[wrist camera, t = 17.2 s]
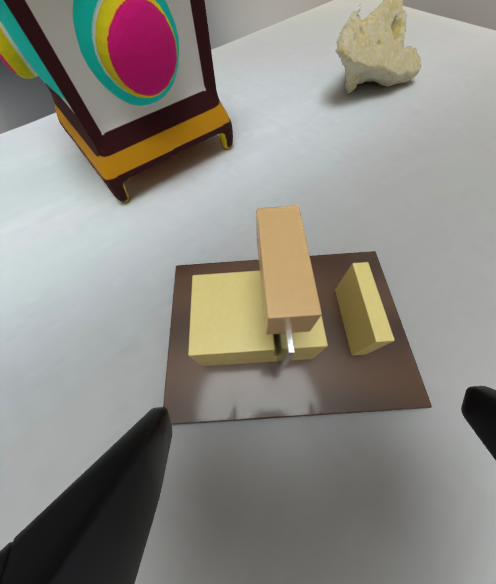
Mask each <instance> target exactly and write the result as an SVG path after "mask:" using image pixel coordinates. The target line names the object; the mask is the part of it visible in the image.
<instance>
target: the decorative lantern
mask: <svg viewBox="0 0 496 584" xmlns="http://www.w3.org/2000/svg"><path fill="white" fill-rule="evenodd" d="M0 58H1V60H2V61H3V62H4V63H5V65H7V67H9V68H10V69H11V70H12V71H13V72H14V73H16V74H17V75H19V76H21V77H23V78H34V77H36V76H39V77H40V78H41V79H42V80H43V81H44V82H45V84H46V85H47V87H48V89H49V90H50V92H51V94H52V97H53V100H54V104H55V109H56V113H57V116H58V119H59V122H60V124H61V125H62V126H63V128H64V129H65V131H66V132H67V133H68V135H69V136H70V137H71V138H72V139H73V141H74V142H75V143H76V145H77V146H78V147H79V149H80V150H81V151H82V153H83V154H84V155H85V157H86V158H87V159H88V161H89V162H90V163H91V165H92V166H93V167H94V169H95V170H96V171H97V173H98V174H99V175H100V176H101V178H102V179H103V181H104V182H105V183H106V185H107V186H108V188H109V189H110V190H111V192H112V193H113V194H114V196H115V197H116V198H117V199H118V200H120V201H121V202H127V201H128V200H129V196H128V193H127V191H126V189H125V185H124V182H125V181H126V180H127V179H128V178H130V177H132V176H134V175H136V174H138V173H140V172H142V171H144V170H146V169H148V168H150V167H152V166H154V165H156V164H158V163H160V162H162V161H164V160H166V159H168V158H170V157H172V156H174V155H176V154H178V153H180V152H182V151H184V150H186V149H188V148H190V147H192V146H194V145H196V144H198V143H200V142H202V141H204V140H206V139H208V138H210V137H212V136H214V135H217V134H219V137H220V141H221V144H222V146H223V147H224V148H226V149H229V148H230V147H231V146H232V142H233V131H232V124H231V121H230V118H229V116H228V114H227V112H226V111H225V109H224V107H223V106H222V104H221V102H220V100H219V98H218V95H217V91H216V84H215V77H214V69H213V62H212V54H211V47H210V40H209V32H208V24H207V16H206V9H205V2H204V0H0Z"/></svg>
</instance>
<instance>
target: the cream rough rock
mask: <svg viewBox="0 0 496 584" xmlns="http://www.w3.org/2000/svg"><path fill="white" fill-rule="evenodd" d="M361 6H362V5H361V4H360V5H359V10H358V11H354V12H353V13H352V14H351V16H350V18H349V20H348V21H347V22H346V24H345V26H344V27H343V29H342V31H341V32H340V36H339V38H338V39H337V49H336V52H337V54H338V55H339V57H340V58H341V62H342V64H343V65H344V67H345V77H346V83H345V86H346V89H347V93H350V92H352V91H353V90H354V89H355V88H356V86H357V84H362V83H364V82H365V81H366V82H371V81H375V82H377V83H379V84H380V85H384V86H386V87H389V86H392V85H395V84H399V83H405V82H408V81H409V80H411V79H413V78H414V77H415V76H416V75H417V74H418V72H419V70H420V68H421V58H420V56H419V55H418V53H417V49H416V48H412V47H409V46H408V47H406V48H404V36H405V31H406V12H405V11H404V10H403V0H384V1H383V2H382V3H381V4H380V5H379V6H378V7H377V8H376V9H375V10H374V11H373V12H371V13H370V14H369V15H368V16H367V17H366V18H365V19H364V20H363V21H361V18H360V16H359V15H358V12H359V11H360V8H361Z"/></svg>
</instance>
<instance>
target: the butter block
mask: <svg viewBox="0 0 496 584" xmlns="http://www.w3.org/2000/svg"><path fill="white" fill-rule="evenodd" d="M292 336H293V342H294V349H295V353H294V354H293V356H292V357H291V359H290V360H304V359H313V358H315V357H316V356H317V355H318V354H319V353H320V352H321V351H323V350H324V349H325V348H326V347H327V346H328V344H327V339H326V335H325V330H324V325H323V320H322V315H321V317H320V318H319V319H318V321H317V322H316V324H315V325H314V327H313V328H312V330H311V331H310V332H297V333H292ZM188 355H189V356H190V357H191V358H192V359H194V360H195V361H197V362H198V363H200V364H201V365H202V366H216V365H231V364H245V363H260V362H275V361H277V358H276V349H275V340H274V334H269V335H267V334H266V330H265V320H264V309H263V299H262V288H261V278H260V271H247V272H233V273H219V274H205V275H193V276H192V295H191V314H190V333H189V352H188ZM290 360H289V361H290Z"/></svg>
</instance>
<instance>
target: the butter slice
mask: <svg viewBox="0 0 496 584" xmlns="http://www.w3.org/2000/svg"><path fill="white" fill-rule="evenodd" d="M335 292H336V296H337V300H338V304H339V308H340V312H341V316H342V320H343V324H344V328H345V332H346V336H347V340H348V344H349V348H350V352H351V355H352V356H353V355H366V354H368V353H370V352H372V351H374V350H376V349H378V348H381V347H383V346H385V345H387V344H389V343H391V342H393V341H395V340H394V337H393V334H392V331H391V328H390V325H389V322H388V319H387V316H386V313H385V310H384V307H383V304H382V302H381V299H380V296H379V293H378V290H377V287H376V284H375V281H374V278H373V275H372V272H371V269H370V266H369V263H368V262H362V263H352V265H351V266H350V268H349V269H348V271H347V272H346V274H345V275H344V277H343V278H342V280H341V282H340V283H339V285H338V286H337V288H336V289H335Z"/></svg>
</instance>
